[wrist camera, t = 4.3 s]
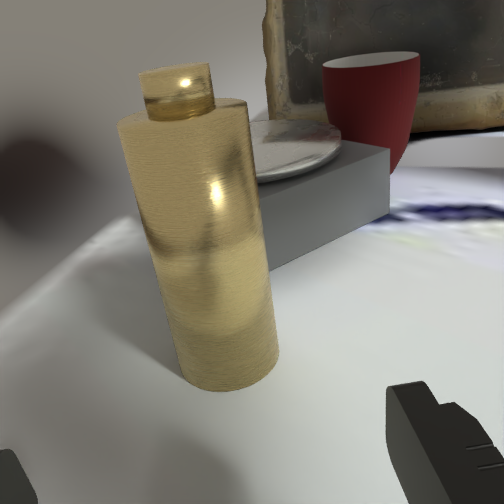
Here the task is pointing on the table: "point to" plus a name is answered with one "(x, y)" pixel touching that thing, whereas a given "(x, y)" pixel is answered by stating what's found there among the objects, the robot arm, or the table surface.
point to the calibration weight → (203, 225)
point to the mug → (373, 98)
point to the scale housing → (324, 202)
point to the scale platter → (292, 147)
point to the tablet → (390, 40)
